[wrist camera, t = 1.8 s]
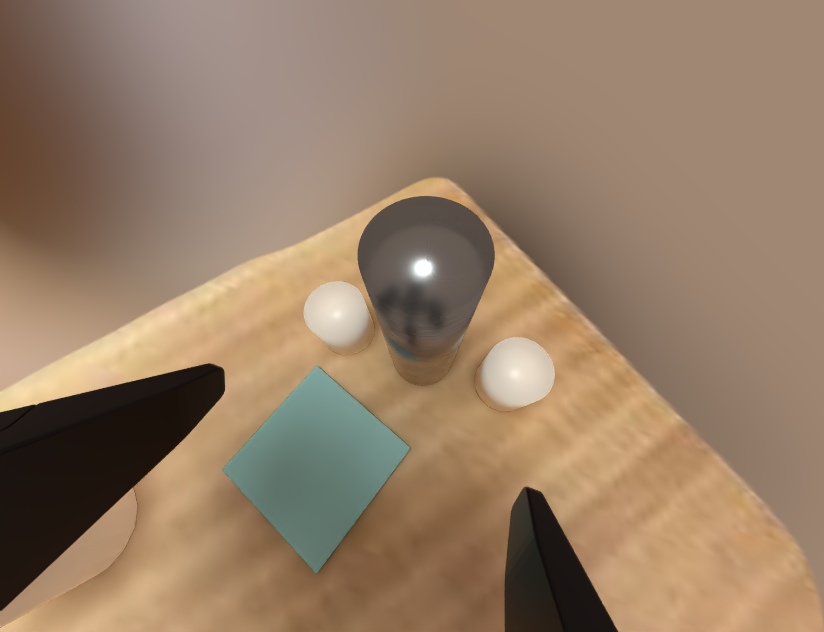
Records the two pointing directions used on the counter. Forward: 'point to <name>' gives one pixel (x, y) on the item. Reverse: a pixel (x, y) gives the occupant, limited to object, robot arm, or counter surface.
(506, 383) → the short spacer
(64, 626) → the counter surface
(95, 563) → the white cylinder
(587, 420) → the counter surface
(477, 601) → the counter surface
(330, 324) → the cylinder
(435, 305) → the dark metallic domed cylinder
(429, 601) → the counter surface
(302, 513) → the teal pad
